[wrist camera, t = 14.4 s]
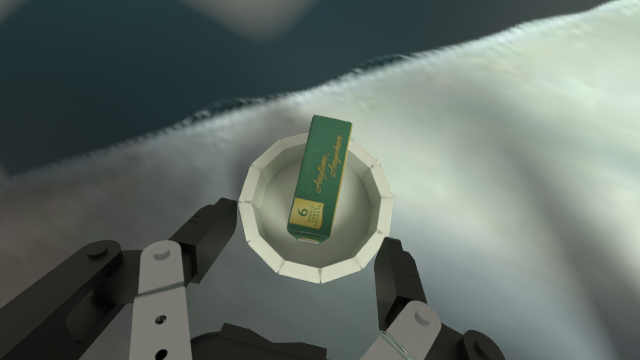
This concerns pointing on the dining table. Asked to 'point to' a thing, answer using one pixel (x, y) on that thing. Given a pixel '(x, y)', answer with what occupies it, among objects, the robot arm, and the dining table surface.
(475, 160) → the dining table surface
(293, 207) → the coffee box
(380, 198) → the bowl
